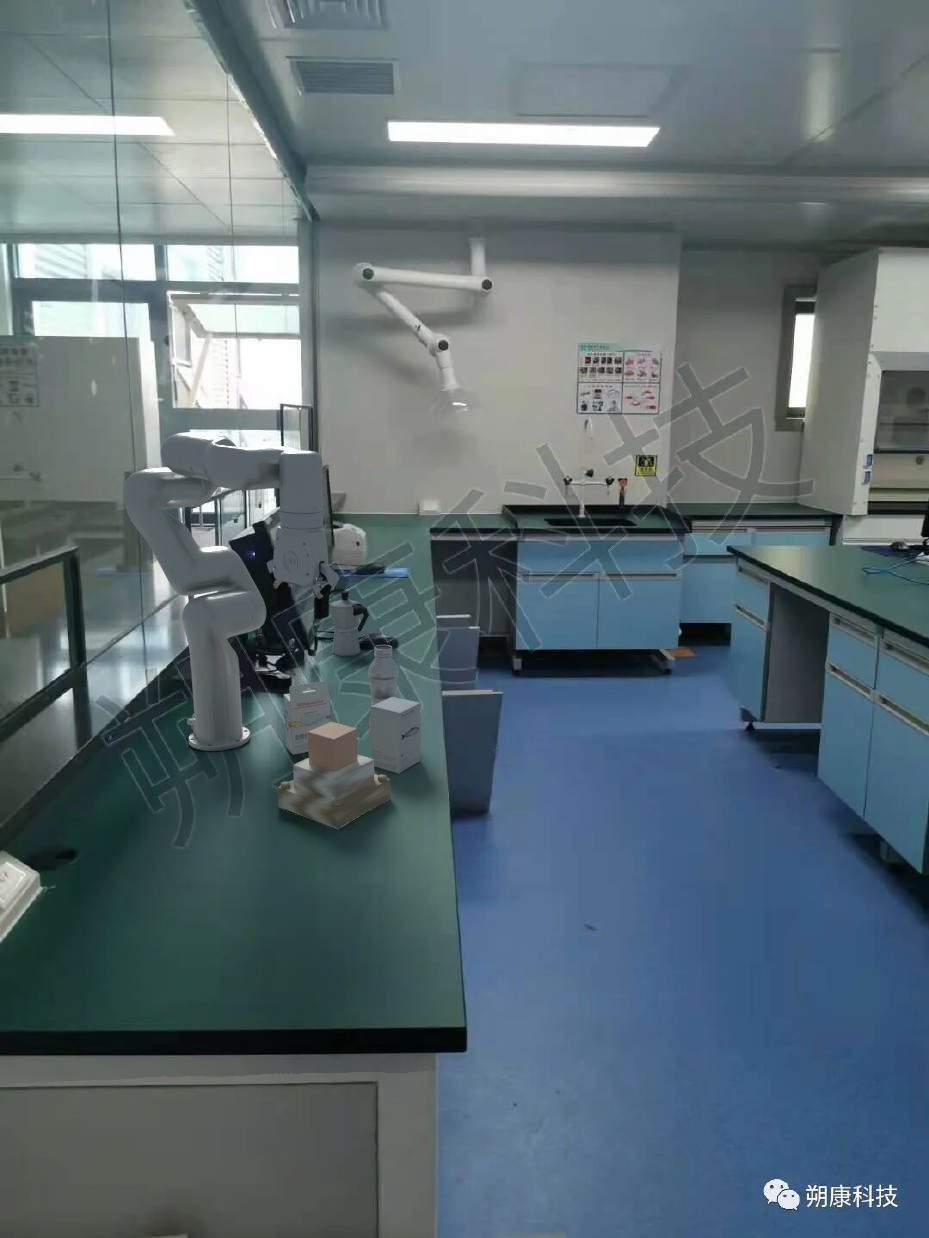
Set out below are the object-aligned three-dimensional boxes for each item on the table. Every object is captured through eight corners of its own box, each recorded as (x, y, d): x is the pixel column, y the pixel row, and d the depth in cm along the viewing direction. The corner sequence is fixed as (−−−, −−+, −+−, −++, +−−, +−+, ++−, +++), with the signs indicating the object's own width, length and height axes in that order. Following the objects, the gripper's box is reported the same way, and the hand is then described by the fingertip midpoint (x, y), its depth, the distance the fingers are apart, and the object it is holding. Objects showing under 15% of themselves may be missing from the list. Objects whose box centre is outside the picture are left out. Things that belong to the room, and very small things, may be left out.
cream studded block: (278, 808, 148) (276, 766, 146) (332, 780, 159) (331, 740, 157) (337, 830, 140) (336, 786, 138) (390, 799, 151) (389, 758, 149)
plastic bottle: (395, 743, 177) (394, 652, 172) (365, 740, 178) (363, 650, 173) (403, 732, 183) (403, 644, 178) (374, 729, 184) (372, 642, 180)
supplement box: (399, 774, 162) (399, 713, 159) (369, 765, 166) (368, 705, 163) (421, 761, 168) (421, 702, 165) (392, 753, 172) (391, 695, 169)
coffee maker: (319, 651, 243) (317, 591, 239) (340, 645, 250) (339, 586, 246) (358, 660, 235) (356, 598, 231) (378, 653, 242) (377, 592, 238)
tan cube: (309, 763, 147) (307, 731, 145) (332, 752, 152) (331, 721, 150) (334, 771, 144) (333, 739, 142) (357, 760, 148) (356, 728, 147)
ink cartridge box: (324, 740, 178) (322, 674, 175) (332, 748, 174) (330, 680, 170) (285, 746, 174) (282, 679, 171) (291, 755, 170) (288, 686, 167)
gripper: (252, 517, 151) (254, 608, 156) (321, 529, 142) (322, 626, 147) (283, 513, 157) (284, 601, 162) (351, 524, 148) (351, 617, 152)
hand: (302, 613), depth 154 cm, fingers open, 9 cm apart
